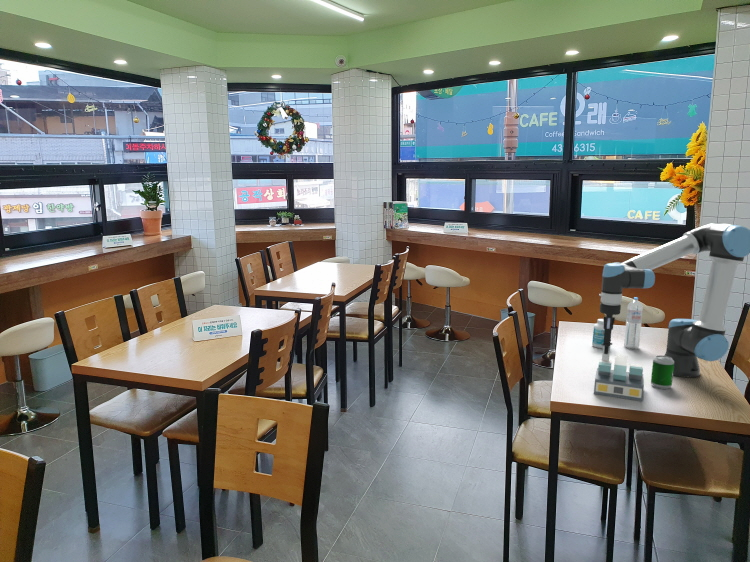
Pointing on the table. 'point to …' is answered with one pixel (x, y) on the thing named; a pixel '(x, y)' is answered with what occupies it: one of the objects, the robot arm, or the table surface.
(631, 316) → the water bottle
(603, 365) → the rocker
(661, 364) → the soda can
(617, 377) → the rocker
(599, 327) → the pill bottle
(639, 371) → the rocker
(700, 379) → the table surface
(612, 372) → the switch unit
